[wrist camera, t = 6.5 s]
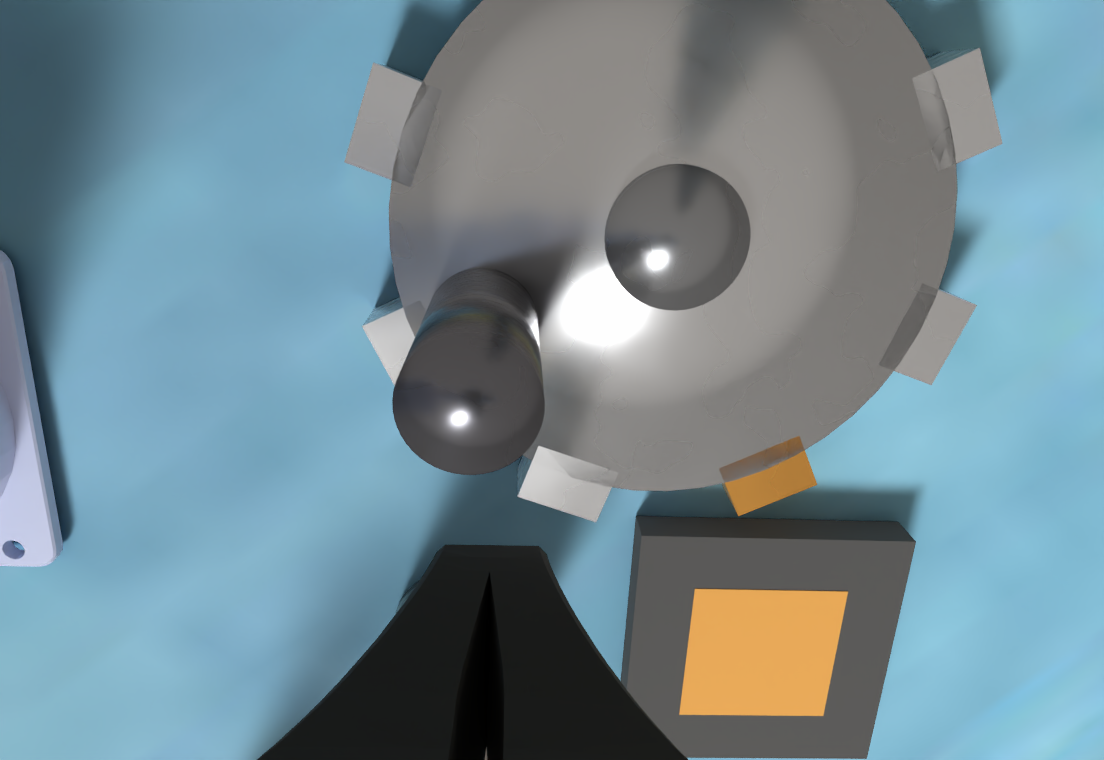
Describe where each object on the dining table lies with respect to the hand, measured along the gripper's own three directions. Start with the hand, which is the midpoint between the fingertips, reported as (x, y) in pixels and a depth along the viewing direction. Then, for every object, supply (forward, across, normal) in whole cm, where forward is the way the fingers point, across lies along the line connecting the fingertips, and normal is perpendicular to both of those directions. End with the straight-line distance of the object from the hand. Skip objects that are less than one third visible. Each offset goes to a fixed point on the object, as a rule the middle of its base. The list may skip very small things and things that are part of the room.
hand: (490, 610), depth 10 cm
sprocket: (+9, -4, -4) cm, 11 cm away
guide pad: (+9, -7, +7) cm, 14 cm away
